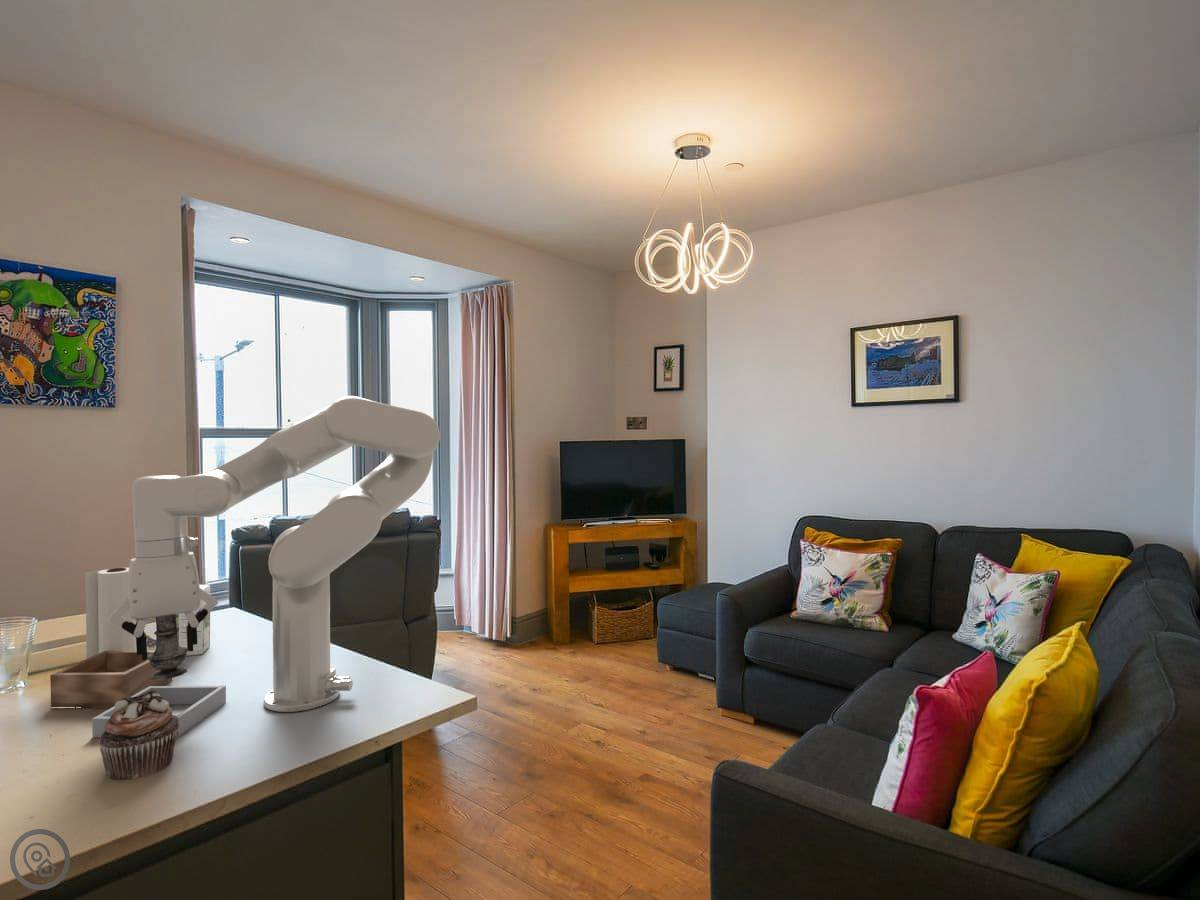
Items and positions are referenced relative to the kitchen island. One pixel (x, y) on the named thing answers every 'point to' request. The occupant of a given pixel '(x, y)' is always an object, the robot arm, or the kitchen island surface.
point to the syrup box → (202, 629)
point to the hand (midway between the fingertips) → (167, 652)
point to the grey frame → (199, 696)
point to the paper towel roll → (106, 611)
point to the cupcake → (139, 737)
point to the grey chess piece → (167, 650)
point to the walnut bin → (102, 680)
